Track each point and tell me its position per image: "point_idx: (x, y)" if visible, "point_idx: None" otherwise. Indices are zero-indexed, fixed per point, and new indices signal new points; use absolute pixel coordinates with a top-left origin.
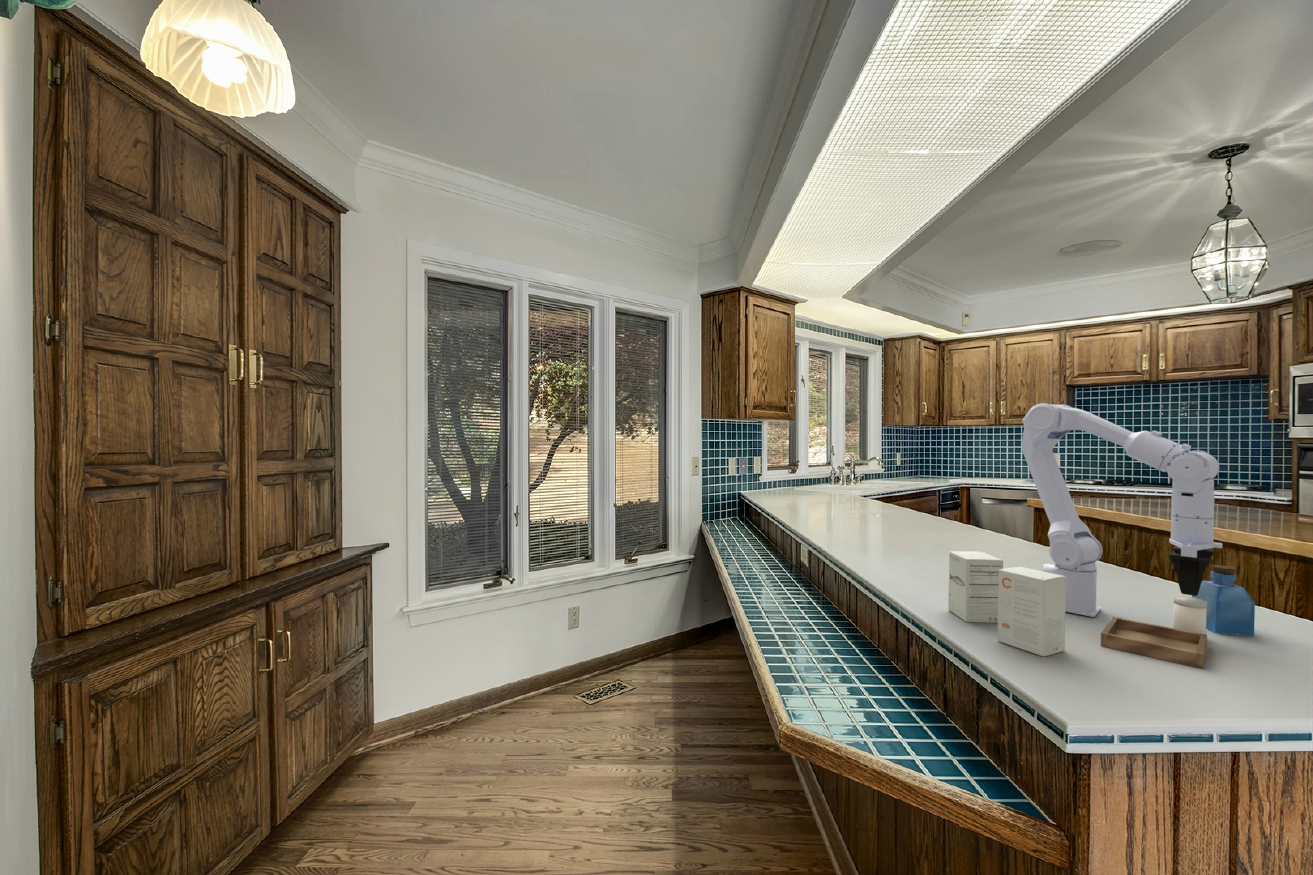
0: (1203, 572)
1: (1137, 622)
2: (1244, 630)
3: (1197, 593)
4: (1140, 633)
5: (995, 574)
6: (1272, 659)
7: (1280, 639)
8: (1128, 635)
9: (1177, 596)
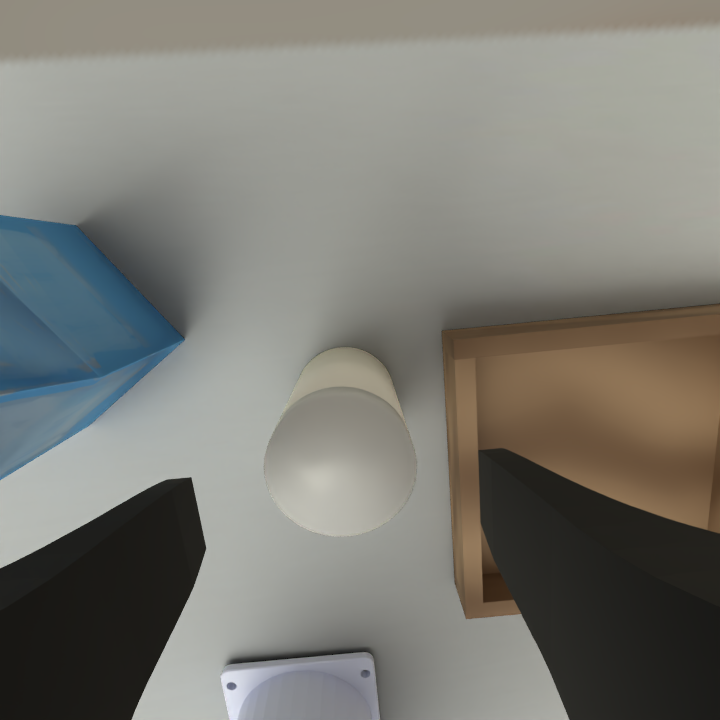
0: (704, 532)
1: (479, 547)
2: (92, 254)
3: (512, 453)
4: None
5: None
6: (410, 137)
7: (33, 138)
8: None
9: (319, 526)
